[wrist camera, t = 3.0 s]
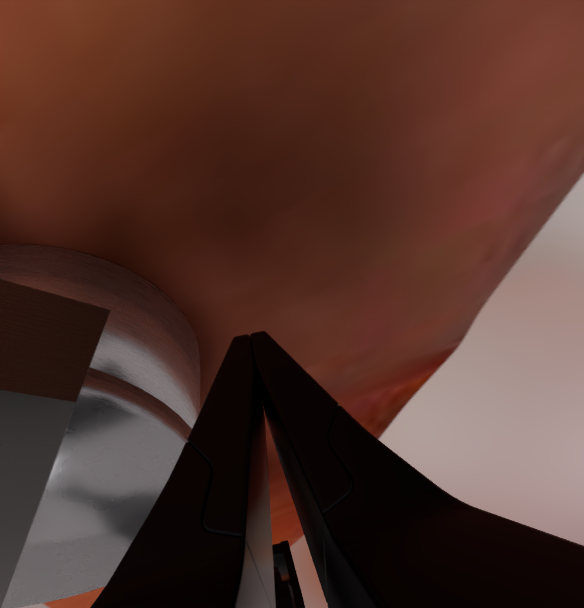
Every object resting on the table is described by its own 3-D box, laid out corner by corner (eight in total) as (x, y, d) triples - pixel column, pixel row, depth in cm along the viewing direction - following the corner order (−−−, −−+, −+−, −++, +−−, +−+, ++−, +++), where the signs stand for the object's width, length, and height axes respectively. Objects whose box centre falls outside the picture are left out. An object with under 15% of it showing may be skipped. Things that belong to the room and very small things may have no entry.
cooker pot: (221, 416, 25) (227, 518, 19) (-2, 468, 23) (-70, 599, 17) (123, 111, 13) (66, 140, 8) (-341, 161, 11) (-875, 249, 6)
